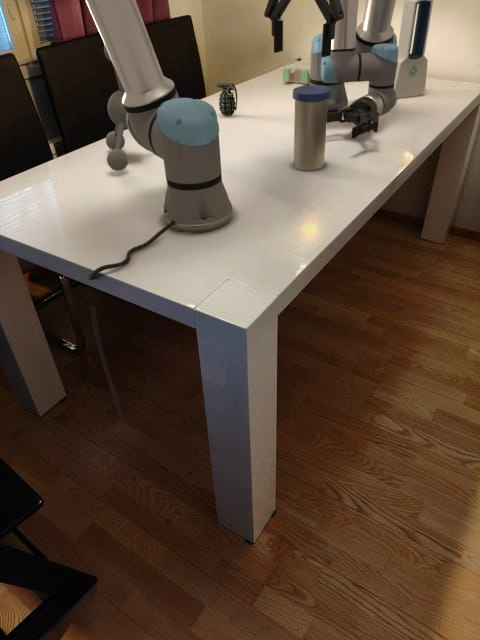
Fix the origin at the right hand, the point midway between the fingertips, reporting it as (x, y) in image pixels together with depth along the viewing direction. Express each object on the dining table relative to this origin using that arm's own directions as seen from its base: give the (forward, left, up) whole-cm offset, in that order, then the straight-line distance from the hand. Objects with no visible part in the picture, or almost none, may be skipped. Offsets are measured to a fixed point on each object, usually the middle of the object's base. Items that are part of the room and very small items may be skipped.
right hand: (330, 129), depth 131 cm
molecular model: (+7, -53, -6) cm, 53 cm away
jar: (+9, -4, -6) cm, 12 cm away
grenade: (-35, -37, -6) cm, 52 cm away
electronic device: (-64, +23, -6) cm, 69 cm away
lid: (+9, -5, +12) cm, 15 cm away
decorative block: (-90, -15, -6) cm, 92 cm away
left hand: (+7, -8, +19) cm, 22 cm away
